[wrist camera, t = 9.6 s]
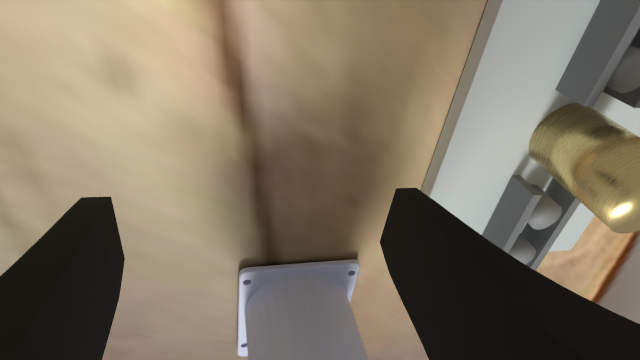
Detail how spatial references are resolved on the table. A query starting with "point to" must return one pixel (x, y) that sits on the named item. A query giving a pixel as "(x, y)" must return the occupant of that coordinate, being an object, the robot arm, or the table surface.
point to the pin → (592, 163)
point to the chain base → (532, 116)
